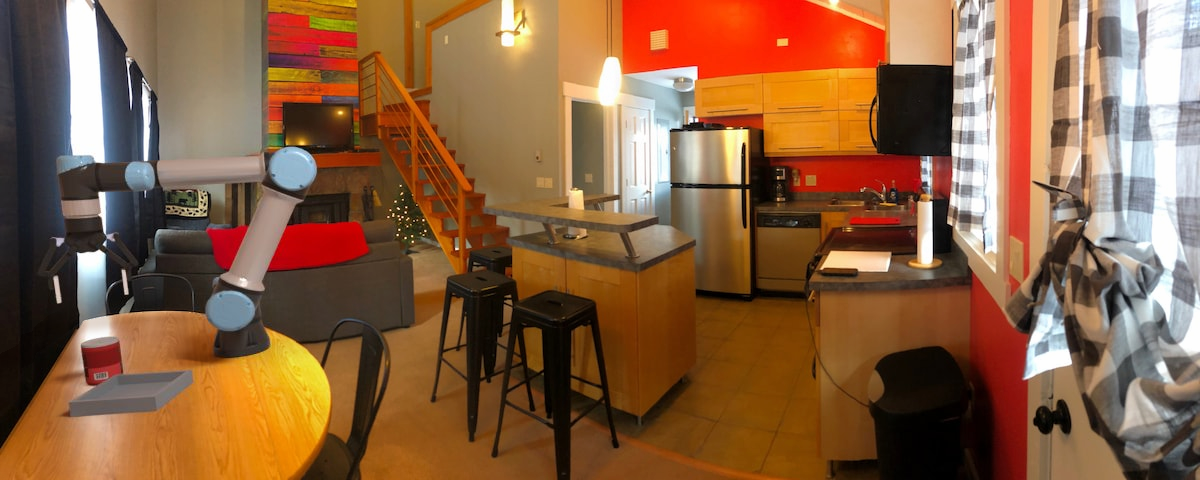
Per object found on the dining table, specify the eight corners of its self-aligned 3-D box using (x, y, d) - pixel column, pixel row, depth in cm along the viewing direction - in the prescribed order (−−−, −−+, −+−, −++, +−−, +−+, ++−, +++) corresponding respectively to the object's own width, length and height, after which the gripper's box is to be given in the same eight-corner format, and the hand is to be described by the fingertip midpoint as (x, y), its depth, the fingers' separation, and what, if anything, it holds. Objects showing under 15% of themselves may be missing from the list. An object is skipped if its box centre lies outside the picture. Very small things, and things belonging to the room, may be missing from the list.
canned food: (131, 377, 168) (125, 337, 167) (99, 388, 161) (93, 346, 159) (111, 374, 171) (106, 335, 169) (78, 384, 163) (73, 344, 162)
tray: (193, 382, 164) (191, 369, 163) (156, 410, 146) (155, 396, 146) (117, 387, 161) (115, 374, 160) (70, 417, 143) (68, 402, 143)
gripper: (142, 211, 170) (151, 288, 173) (17, 219, 155) (30, 303, 158) (144, 213, 164) (153, 292, 167) (14, 221, 149) (28, 308, 152)
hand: (93, 297), depth 163 cm, fingers open, 13 cm apart
